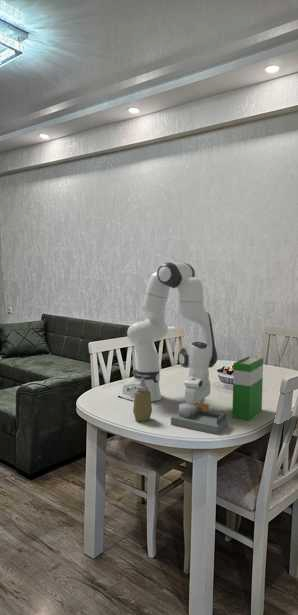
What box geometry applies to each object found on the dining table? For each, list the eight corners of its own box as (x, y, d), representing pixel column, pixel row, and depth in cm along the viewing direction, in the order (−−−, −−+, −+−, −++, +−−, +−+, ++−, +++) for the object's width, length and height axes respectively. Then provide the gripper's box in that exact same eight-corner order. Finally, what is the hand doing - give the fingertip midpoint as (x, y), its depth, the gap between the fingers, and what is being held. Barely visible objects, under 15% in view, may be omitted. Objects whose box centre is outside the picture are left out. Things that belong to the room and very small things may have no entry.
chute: (187, 413, 180) (187, 404, 179) (192, 410, 184) (192, 401, 184) (204, 416, 176) (204, 407, 175) (208, 413, 180) (208, 404, 180)
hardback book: (246, 407, 189) (247, 356, 187) (261, 409, 185) (263, 358, 183) (232, 417, 174) (233, 363, 173) (249, 421, 170) (250, 365, 169)
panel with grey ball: (170, 424, 166) (171, 407, 165) (183, 416, 176) (183, 400, 175) (216, 434, 155) (217, 416, 155) (227, 424, 166) (227, 408, 165)
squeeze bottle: (151, 416, 175) (152, 375, 174) (152, 422, 167) (152, 380, 166) (133, 416, 175) (133, 375, 174) (132, 423, 167) (133, 380, 166)
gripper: (201, 373, 189) (200, 402, 190) (182, 383, 172) (182, 414, 173) (214, 375, 186) (213, 404, 187) (196, 385, 168) (195, 417, 169)
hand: (198, 409), depth 180 cm, fingers closed on chute, 5 cm apart
